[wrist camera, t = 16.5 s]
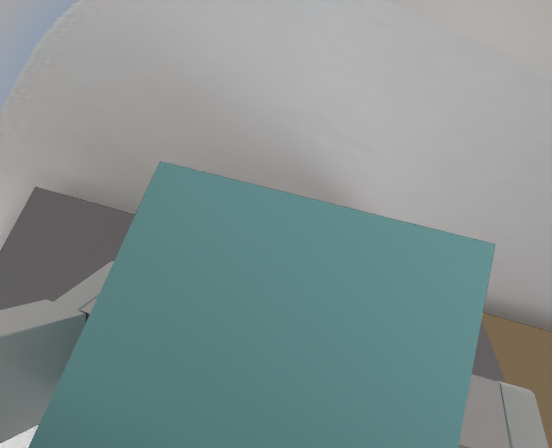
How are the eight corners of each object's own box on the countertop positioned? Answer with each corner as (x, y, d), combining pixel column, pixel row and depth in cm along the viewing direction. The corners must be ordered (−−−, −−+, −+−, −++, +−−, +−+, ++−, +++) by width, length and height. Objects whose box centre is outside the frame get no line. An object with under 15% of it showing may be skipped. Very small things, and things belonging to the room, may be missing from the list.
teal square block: (386, 353, 18) (495, 244, 5) (357, 472, 17) (409, 712, 4) (281, 320, 19) (160, 161, 6) (246, 429, 18) (0, 508, 5)
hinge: (782, 396, 17) (1048, 395, 11) (792, 753, 14) (1185, 1061, 7) (55, 192, 25) (-44, 120, 19) (-48, 388, 22) (-213, 383, 15)
